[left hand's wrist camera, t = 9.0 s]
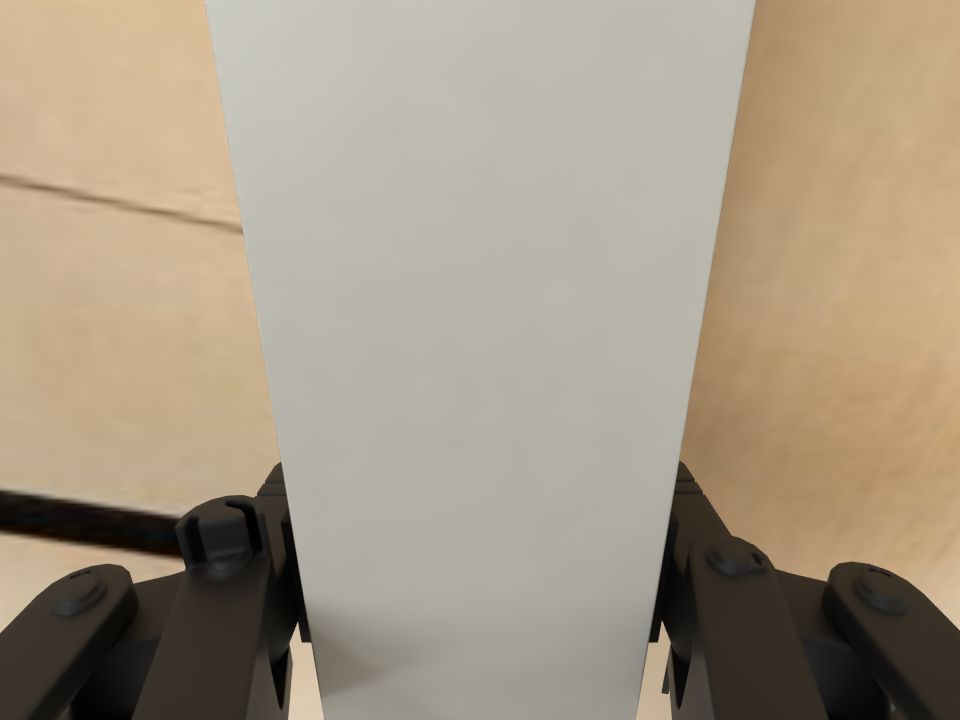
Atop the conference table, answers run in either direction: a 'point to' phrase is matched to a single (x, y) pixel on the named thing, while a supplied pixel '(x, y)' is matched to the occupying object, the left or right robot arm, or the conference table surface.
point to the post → (480, 326)
